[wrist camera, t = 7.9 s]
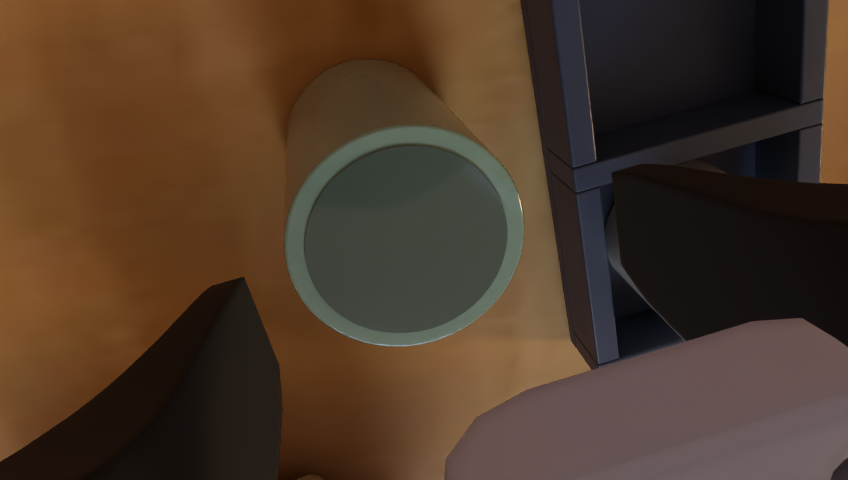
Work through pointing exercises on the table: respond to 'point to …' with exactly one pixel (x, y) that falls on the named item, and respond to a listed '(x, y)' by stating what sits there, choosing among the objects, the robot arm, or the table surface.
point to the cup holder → (663, 124)
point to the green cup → (394, 209)
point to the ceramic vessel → (311, 477)
